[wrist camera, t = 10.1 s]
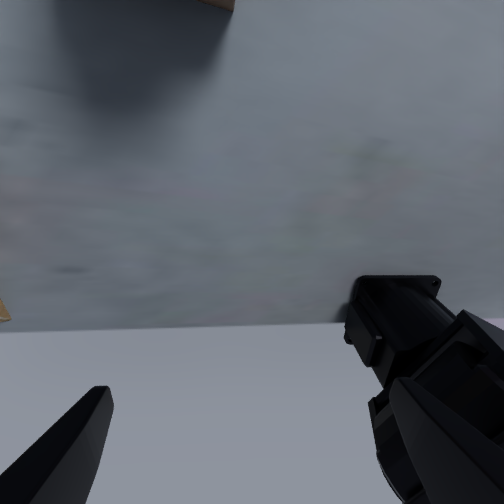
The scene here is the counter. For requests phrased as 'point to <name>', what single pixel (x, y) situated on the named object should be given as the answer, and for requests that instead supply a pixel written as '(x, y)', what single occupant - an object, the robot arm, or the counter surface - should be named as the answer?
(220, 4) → the oak base block
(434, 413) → the robot arm
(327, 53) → the counter surface
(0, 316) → the sandwich container
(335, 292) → the counter surface
